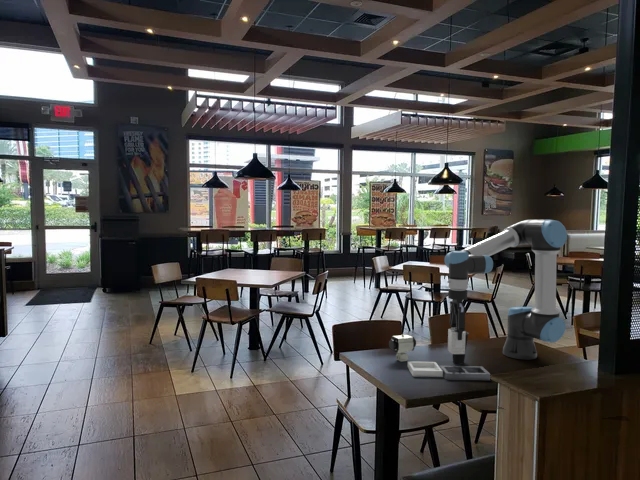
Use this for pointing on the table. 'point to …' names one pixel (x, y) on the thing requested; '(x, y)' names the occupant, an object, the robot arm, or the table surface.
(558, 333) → the robot arm
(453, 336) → the white block
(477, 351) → the table surface
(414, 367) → the tray
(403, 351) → the pneumatic valve
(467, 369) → the gray divided tray
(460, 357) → the drinking cup
